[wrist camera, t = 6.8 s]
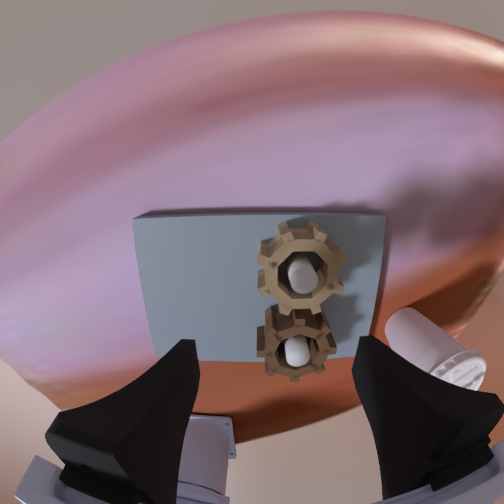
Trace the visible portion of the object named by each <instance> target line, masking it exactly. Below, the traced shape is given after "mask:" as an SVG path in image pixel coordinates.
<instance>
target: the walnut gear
mask: <svg viewBox="0 0 504 504" xmlns="http://www.w3.org/2000/svg"><path fill="white" fill-rule="evenodd" d="M320 308H321V307H320ZM298 334H301V335H304V336H307V337H308V339H307V345H308V349H309V353H310V359H309V361H308V362H307V363H306V364H304V365H302V366H291V365H290V364H288V362H287V360H286V352H285V345H284V344H283V343H280V342H281V340H284V339H287V338H289V337H292V336H295V335H298ZM336 351H337V346H336V343H335V341H334V338H333V336H332V333H331V328H330V326H329V323H328V321H327V318H326V316H325V314H324V311H323V309H322V308H321V312H319V313H316V314H314V315H313V314H312V311H311V309H292V310H291V311H290V313H289V315H288V316H287V315H284V314H281V313H279V309H276V310H275V309H274V308H273V307H272V306H270V307H268V308H267V309H266V310H265V325H264V327H257V358H261V357H264V358H265V373H267V374H268V375H269V376H273V375H274V374H276V373H278V374H282V375H286V376H290V381H291V382H295V381H299V376H302V375H305V374H308V373H311V372H314V371H315V372H316V373H318V374H320V373H321V372H323V371H324V370H325V368H324V364H323V363H324V361H325V360H326V358H327V357H328V355H331V354H336Z"/></svg>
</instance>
